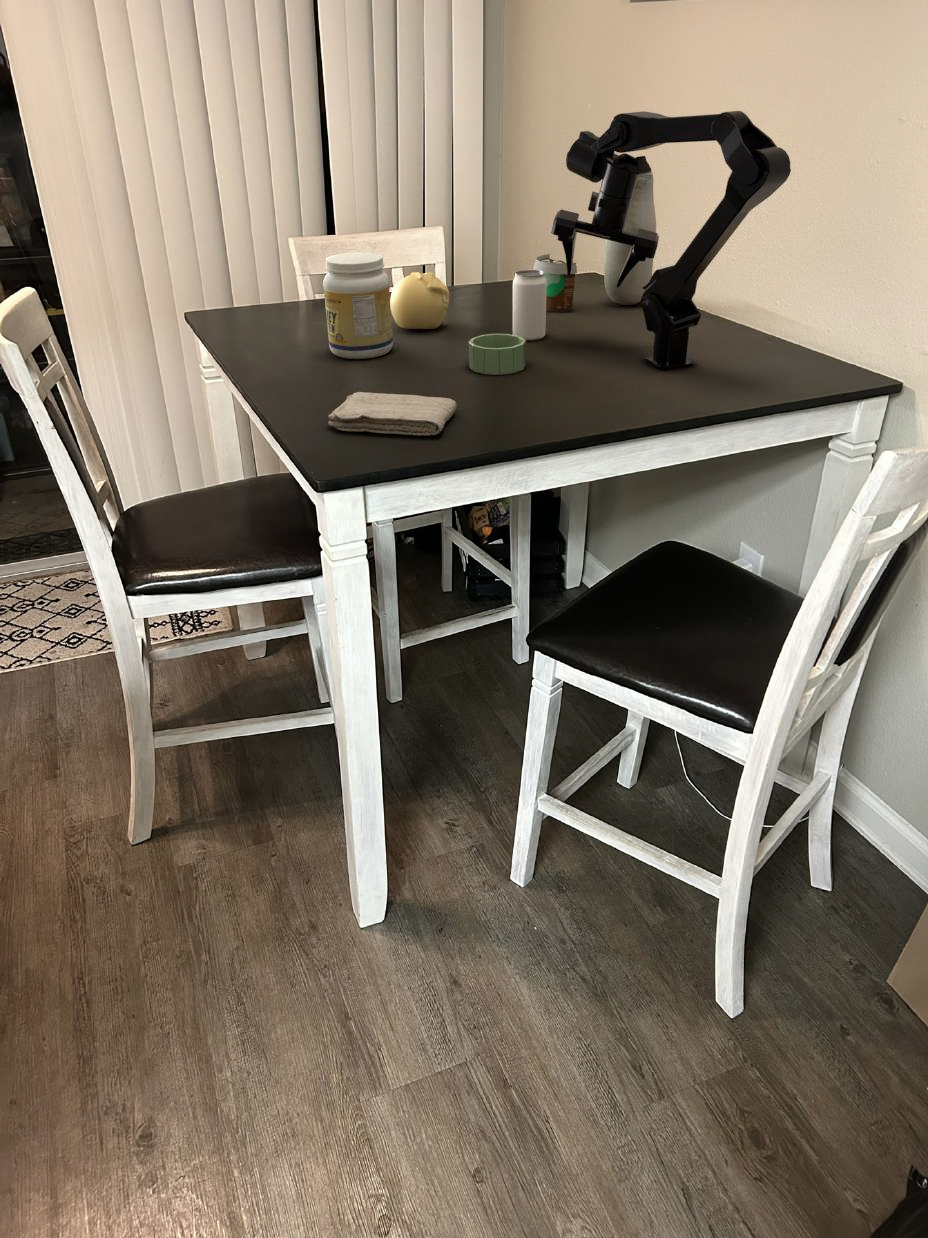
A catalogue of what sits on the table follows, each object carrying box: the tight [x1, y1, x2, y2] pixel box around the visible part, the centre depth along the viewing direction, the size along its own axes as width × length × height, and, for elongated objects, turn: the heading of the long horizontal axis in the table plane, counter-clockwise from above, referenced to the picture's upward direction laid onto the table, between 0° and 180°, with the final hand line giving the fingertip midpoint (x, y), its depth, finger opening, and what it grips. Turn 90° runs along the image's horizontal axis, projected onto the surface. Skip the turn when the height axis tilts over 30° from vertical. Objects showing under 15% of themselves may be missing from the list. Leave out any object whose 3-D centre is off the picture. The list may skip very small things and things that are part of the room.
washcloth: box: [327, 391, 458, 437], centre depth 140 cm, size 12×18×3 cm, turn 77°
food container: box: [532, 253, 578, 313], centre depth 197 cm, size 12×6×10 cm, turn 25°
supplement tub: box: [322, 251, 394, 360], centre depth 170 cm, size 12×12×17 cm
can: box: [512, 269, 547, 342], centre depth 177 cm, size 6×6×12 cm
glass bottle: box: [603, 169, 657, 306], centre depth 194 cm, size 10×10×28 cm
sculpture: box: [390, 271, 450, 330], centre depth 186 cm, size 12×12×11 cm
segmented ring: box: [468, 333, 527, 376], centre depth 163 cm, size 10×10×4 cm
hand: (593, 280), depth 168 cm, fingers open, 9 cm apart
